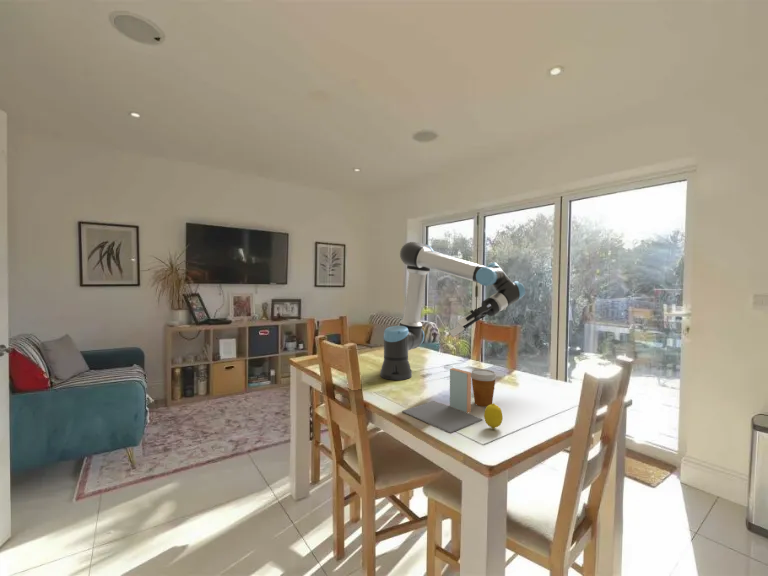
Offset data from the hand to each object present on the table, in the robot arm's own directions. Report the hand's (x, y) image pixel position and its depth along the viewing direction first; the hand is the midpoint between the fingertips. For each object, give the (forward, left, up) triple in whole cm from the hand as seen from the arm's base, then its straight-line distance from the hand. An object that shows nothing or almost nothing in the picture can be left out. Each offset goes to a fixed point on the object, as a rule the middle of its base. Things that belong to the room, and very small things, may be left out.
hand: (454, 329), depth 146 cm
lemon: (+31, -18, -26) cm, 44 cm away
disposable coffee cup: (+16, -2, -26) cm, 31 cm away
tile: (+14, -13, -26) cm, 32 cm away
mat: (+14, -23, -26) cm, 37 cm away
